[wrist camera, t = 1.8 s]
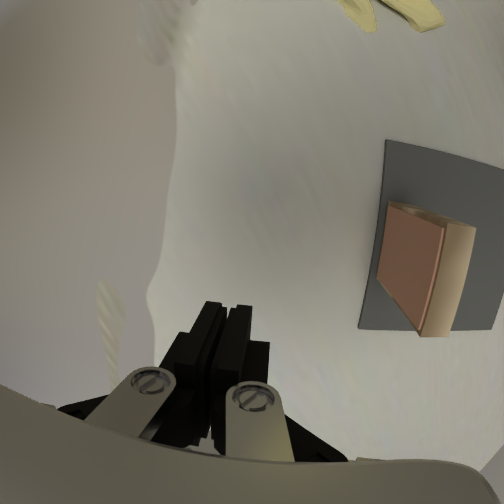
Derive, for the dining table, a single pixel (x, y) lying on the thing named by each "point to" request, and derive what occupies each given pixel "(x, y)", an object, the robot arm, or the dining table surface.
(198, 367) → the robot arm
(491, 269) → the mat
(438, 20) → the cloth
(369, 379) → the dining table surface
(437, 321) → the tile
